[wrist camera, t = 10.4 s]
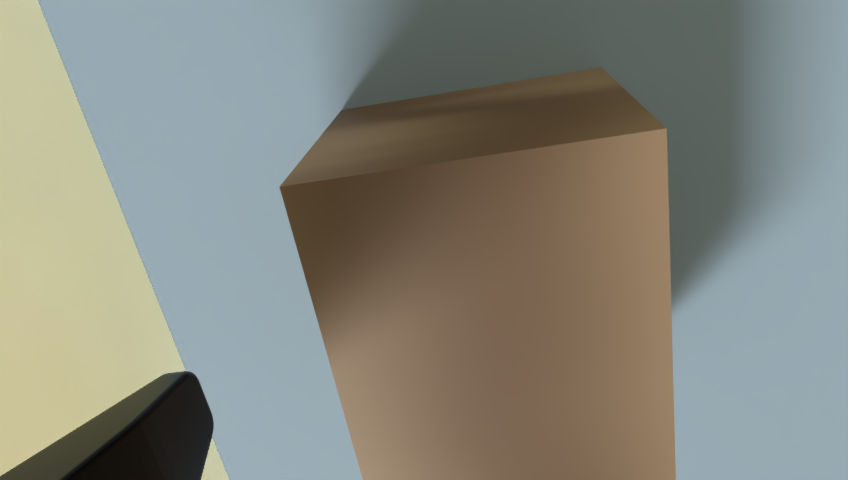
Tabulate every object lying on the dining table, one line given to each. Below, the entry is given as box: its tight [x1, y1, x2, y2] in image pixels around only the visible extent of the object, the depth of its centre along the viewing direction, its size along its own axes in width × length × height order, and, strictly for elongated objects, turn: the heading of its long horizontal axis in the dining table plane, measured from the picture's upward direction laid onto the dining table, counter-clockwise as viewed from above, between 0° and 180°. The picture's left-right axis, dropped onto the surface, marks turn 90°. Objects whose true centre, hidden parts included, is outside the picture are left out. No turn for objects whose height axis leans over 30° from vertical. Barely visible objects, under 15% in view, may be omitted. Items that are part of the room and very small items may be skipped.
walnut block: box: [279, 67, 676, 480], centre depth 10 cm, size 4×6×4 cm
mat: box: [38, 0, 848, 480], centre depth 13 cm, size 16×14×1 cm
